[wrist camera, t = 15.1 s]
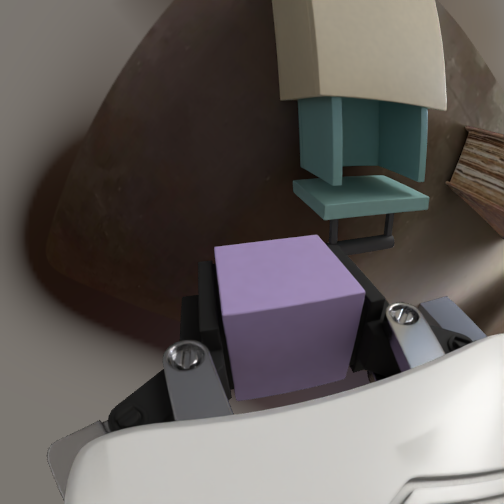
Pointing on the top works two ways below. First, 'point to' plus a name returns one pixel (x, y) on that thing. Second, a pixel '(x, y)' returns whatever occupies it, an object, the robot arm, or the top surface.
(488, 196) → the book
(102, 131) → the top surface
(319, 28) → the drawer cabinet
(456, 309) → the perfume bottle
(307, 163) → the teal drawer
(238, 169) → the top surface
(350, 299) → the lavender cube
